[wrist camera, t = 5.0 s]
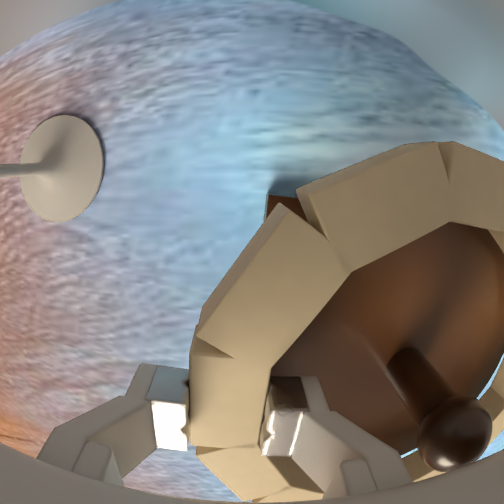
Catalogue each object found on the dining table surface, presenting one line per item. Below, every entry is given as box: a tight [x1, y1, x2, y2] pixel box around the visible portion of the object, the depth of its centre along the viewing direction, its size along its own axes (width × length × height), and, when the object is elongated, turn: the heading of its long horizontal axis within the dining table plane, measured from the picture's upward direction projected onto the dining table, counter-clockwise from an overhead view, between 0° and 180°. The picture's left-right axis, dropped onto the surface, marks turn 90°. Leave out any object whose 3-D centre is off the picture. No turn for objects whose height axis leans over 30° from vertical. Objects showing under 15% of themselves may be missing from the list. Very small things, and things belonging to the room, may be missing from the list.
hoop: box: [189, 141, 504, 503], centre depth 9 cm, size 15×15×2 cm
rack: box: [264, 193, 504, 472], centre depth 13 cm, size 13×13×15 cm
